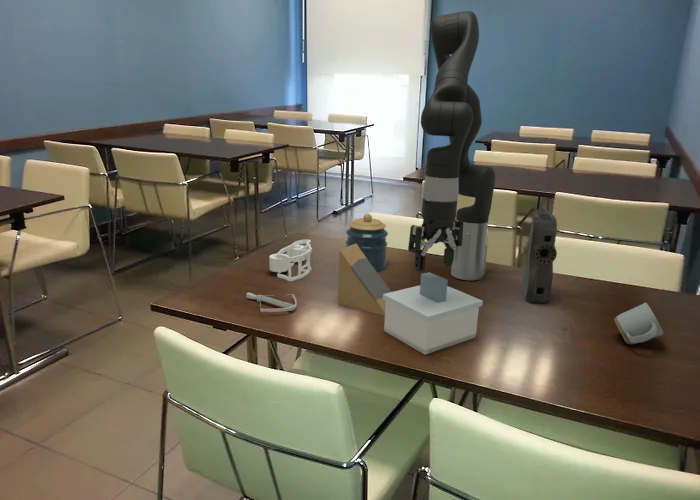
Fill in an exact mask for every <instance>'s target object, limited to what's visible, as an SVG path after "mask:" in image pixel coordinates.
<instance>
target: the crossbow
mask: <svg viewBox="0 0 700 500" xmlns="http://www.w3.org/2000/svg"><path fill="white" fill-rule="evenodd" d="M245 295H246V296H245V297H246V298H247V299H250V300H256V302H257V303H258V302H259V306H260V307H262V306H261V302H262V301H263V302H265V303H266V302H267V303H269V304H273V305H275V306H278V307H282V308H260V311H259V312H260V313H277V312H278V313H280V312H289V311H293V310H296V309H297V307H298V306H297V303H298V302H297V301H298V300H297V297H296V296H295V294H294V293H291V294H290V293H289V294H287V296H290V295H291V296H292V300H294V304H292V303H289V302H288V301H287V302H284V301H281V300H278V299H275V298H272V297H270V296H273V294H270V295H269V294H268V295H262V294H255V293H251V292H249V291H248V292H247V293H246V294H245Z"/></svg>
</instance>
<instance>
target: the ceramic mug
mask: <svg viewBox="0 0 700 500" xmlns="http://www.w3.org/2000/svg"><path fill="white" fill-rule="evenodd" d="M613 321H614V323H615V324H616V327H617V328H618V331H619V332H620V334H621V336H622V338H623V340H624V342H625V343H626V344H627V345H636V344H638V343H644V342H647V341H649V340H651V339H654V338H657V337H660V336H662V335H664V331H663V328H662V327H661V325H660V323H659V322H658V319H657V317H656V316H655V314H654V312H653V311H652V309H651V307H650V305H649V304H648V303H647V302H644V303H642V304H640V305H638V306H634V307H633V308H631V309H628V310H626V311H624V312H622V313H620V314H618V315H617V316H615V317H614V320H613Z"/></svg>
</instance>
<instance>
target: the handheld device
mask: <svg viewBox="0 0 700 500" xmlns="http://www.w3.org/2000/svg"><path fill="white" fill-rule="evenodd" d="M557 227H558V223H557V218H556V216H554V214H553V213H551V212H550V211H548V210H547V209H544V208H539V209H537V210H534V211H533V215H532V220H531V225H530V230H529V236H528V242H527V246H526V247H527V248H526V253H525V260H524V266H523V272H522V279H521V287H520V290H521V294H522V297H523V299H524V300H525V302H527V303H530V304H533V303H534V304H535V303H536V304H548V302H549V299H550V296H551V291H552V284H553V279H554V277H553V275H554V263H553V262H554V261H555V260H556V258H557V256H558V255H557V253H558V252H557V249H556V246H555V244H556V238H557V229H558V228H557Z"/></svg>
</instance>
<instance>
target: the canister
mask: <svg viewBox="0 0 700 500" xmlns="http://www.w3.org/2000/svg"><path fill="white" fill-rule="evenodd" d="M348 226H349V228H348V229H347V230H346V231H345V233H346V235H347V238H346V239H347V240H346V241H345V248H346V247H348V246H351V245H353V244H357V245H358V247H359V248H360V250H361V251H362V252H363V254H364V255H365V257H366V258H367V259H368V261H369V262H370V264H371V265H372V266H373V268H374V269H375V270H376V272H377V273H379V272H381V271H383V270H385V269H386V268H387V246H388V241H387V236H388V235H389V232H388V231H387V230H386V229H385V228H386V224H385V223H383V222H382V221H381V220H380V219H377V218H373V216H372V215H371V214H370V213H365V214H364V215H363V217H362V218H355V219H354V220H353V221H351V222H349V223H348Z"/></svg>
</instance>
